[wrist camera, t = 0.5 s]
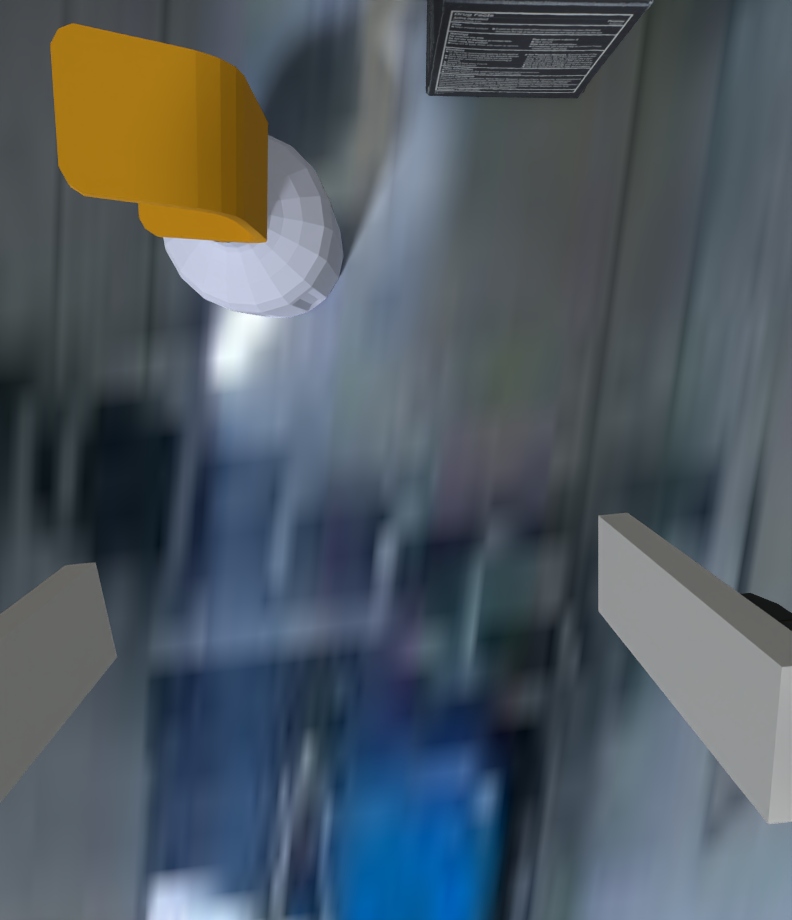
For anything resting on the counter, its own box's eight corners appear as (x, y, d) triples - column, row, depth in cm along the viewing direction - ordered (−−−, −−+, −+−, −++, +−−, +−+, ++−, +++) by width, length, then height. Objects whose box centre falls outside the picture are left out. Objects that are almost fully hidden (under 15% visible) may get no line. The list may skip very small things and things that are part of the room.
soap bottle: (212, 177, 37) (-88, -111, 13) (346, 187, 38) (291, -74, 14) (214, 313, 39) (-45, 278, 15) (341, 321, 40) (285, 299, 16)
